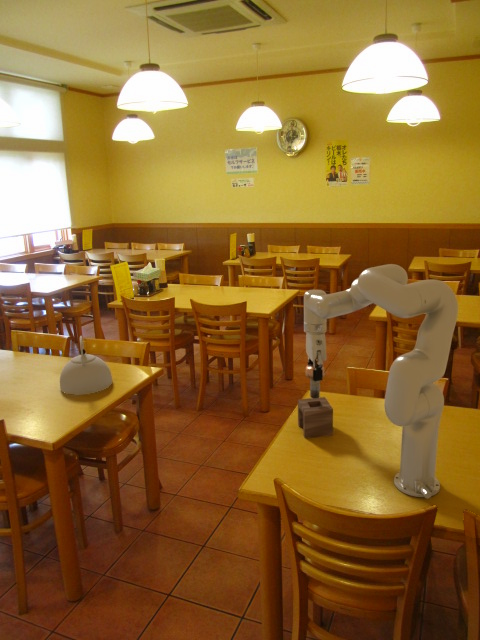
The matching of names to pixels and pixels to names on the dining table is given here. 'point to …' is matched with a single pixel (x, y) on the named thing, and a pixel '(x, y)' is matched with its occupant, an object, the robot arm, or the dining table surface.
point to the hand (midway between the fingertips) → (314, 376)
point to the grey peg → (313, 384)
